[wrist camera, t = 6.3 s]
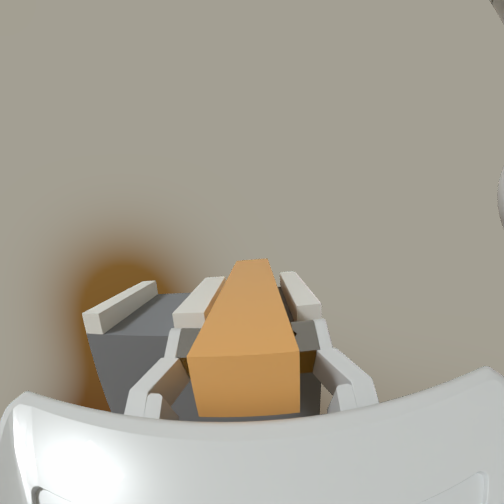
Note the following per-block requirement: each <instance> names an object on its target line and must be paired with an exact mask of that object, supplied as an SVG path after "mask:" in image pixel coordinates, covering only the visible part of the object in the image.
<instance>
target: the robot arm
mask: <svg viewBox="0 0 504 504" xmlns="http://www.w3.org/2000/svg"><path fill="white" fill-rule="evenodd" d="M489 1H490V2H491V4H492V5H493V7H494V8H495V10H496V12H497V13H498V15H499V17H500V18H501V20H502V22H503V23H504V0H489ZM497 196H498V209H499V215H500V219H501V223H502V226H503V228H504V167H503V169H502V172H501V175H500V179H499V184H498V194H497ZM290 325H291V328H292V331H293V333H294V336H295V339H296V342H297V345H298V348H299V353H300V374H301V373H312V372H313V374H314V375H315V376H316V378H317V379H318V380H319V381H320V382H321V383H322V384H323V385H324V387H325V388H326V389H327V390H328V391H329V392H330V393H331V394H332V395H333V398H332V400H331V402H330V405H329V407H328V409H327V412H328V414H321V415H314V416H307V417H299V418H290V419H279V420H266V421H247V422H197V421H179V416H178V415H177V414H176V413H175V412H174V410H173V409H172V408H171V406H172V404H173V403H174V402H175V400H176V399H177V398H178V396H179V395H180V394H181V392H182V391H183V389H184V388H185V387H186V385H187V384H188V383H189V381H190V379H191V378H190V373H189V368H188V363H187V355H188V353H189V351H190V349H191V347H192V345H193V343H194V341H195V339H196V338H197V336H198V334H199V332H200V330H201V328H171V330H170V332H169V336H168V341H167V346H166V351H165V356H164V358H160V359H159V360H158V362H157V363H156V364H155V365H154V366H153V367H152V368H151V369H150V370H149V371H148V372H147V373H146V374H145V375H144V376H143V377H142V378H141V379H140V380H139V381H138V382H137V383H136V384H135V385H134V386H133V387H132V388H131V389H130V390H129V395H128V399H127V403H126V408H125V412H124V414H118V413H112V412H107V411H102V410H97V409H92V408H87V407H83V406H79V405H75V404H71V403H67V402H63V401H60V400H56V399H53V398H49V397H46V396H43V395H39V394H37V393H33V392H30V391H26V392H24V393H22V394H21V395H20V396H18V397H17V398H16V399H15V400H14V401H12V402H11V403H10V404H9V405H8V406H7V408H6V410H5V411H4V413H3V416H2V418H1V421H0V504H504V376H503V375H501V374H500V373H498V372H497V371H495V370H494V369H492V368H490V367H488V366H483V367H481V368H478V369H476V370H474V371H472V372H469V373H467V374H465V375H462V376H460V377H457V378H455V379H452V380H450V381H448V382H445V383H442V384H439V385H437V386H434V387H431V388H428V389H425V390H422V391H419V392H416V393H413V394H410V395H406V396H403V397H400V398H396V399H392V400H389V401H385V402H381V403H379V401H378V397H377V393H376V390H375V387H374V383H373V380H372V378H371V377H370V376H369V375H368V374H366V373H365V372H364V371H363V370H362V369H361V368H359V367H358V366H357V365H356V364H355V363H354V362H352V361H351V360H350V359H349V358H348V357H347V356H345V355H344V354H343V353H342V352H341V351H340V350H338V349H337V348H333V346H332V342H331V338H330V334H329V331H328V327H327V323H326V320H325V319H316V320H306V321H297V322H291V323H290Z"/></svg>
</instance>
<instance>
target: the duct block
mask: <svg viewBox="0 0 504 504" xmlns="http://www.w3.org/2000/svg"><path fill="white" fill-rule="evenodd" d="M225 282H226V280H225V277H209V278H205V279H204V280H203V281H202V282H201V283H200V284H199V285H198V287H197V288H196V289H195V290H194V291H193V292H192V293H177V294H158V292H157V285H156V281H143V282H141V283H139V284H137V285H135V286H133V287H131V288H129V289H127V290H126V291H124V292H122V293H120V294H118V295H116V296H114V297H112V298H110V299H109V300H106V301H105V302H103V303H101V304H99V305H97V306H95V307H93V308H91V309H90V310H88V311H86V312H84V313H83V314H82V315H83V319H84V324H85V328H86V333H87V337H88V340H89V344H90V348H91V352H92V356H93V359H94V362H95V366H96V369H97V372H98V375H99V378H100V382H101V384H102V387H103V390H104V393H105V396H106V398H107V402H108V404H109V407H110V409H111V412H112V413H118V414H124V412H125V408H126V403H127V399H128V395H129V390H130V389H131V388H132V387H133V386H134V385H135V384H136V383H137V382H138V381H139V380H140V379H141V378H142V377H143V376H144V375H145V374H146V373H147V372H148V371H149V370H150V369H151V368H152V367H153V366H154V365H155V364H156V363H157V362H158V360H159V359H160V358H164V356H165V351H166V346H167V341H168V336H169V332H170V330H171V328H202V326H203V324H204V322H205V320H206V318H207V316H208V315H209V313H210V311H211V309H212V307H213V305H214V303H215V301H216V299H217V297H218V296H219V294H220V292H221V290H222V288H223V286H224V284H225ZM280 285H281V287H278V290H279V293H280V296H281V299H282V302H283V304H284V307H285V310H286V313H287V316H288V319H289V322H290V323H291V322H297V321H306V320H316V319H322V307H321V302H320V301H319V300H318V299H317V298H316V296H315V295H314V294H313V293H312V292H311V290H310V289H309V288H308V287H307V285H306V284H305V283H304V282H303V281H302V280H301V278H300V277H299V276H298V275H297V274H296V272H295V271H289V272H280ZM320 392H321V382H320V381H319V380H318V379H317V378H316V376H315V375H314V374H313V372H312V373H301V374H300V413H291V414H280V415H268V416H251V417H199V415H198V411H197V406H196V402H195V397H194V393H193V388H192V383H191V379H190V381H189V383H188V384H187V385H186V387H185V388H184V389H183V391H182V392H181V394H180V395H179V396H178V398H177V399H176V400H175V402H174V403H173V404H172V406H171V408H172V409H173V410H174V412H175V413H176V414H177V415H178V416H179V421H197V422H247V421H266V420H279V419H290V418H299V417H307V416H314V415H319V414H320V394H321V393H320Z"/></svg>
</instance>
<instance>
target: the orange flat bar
mask: <svg viewBox="0 0 504 504" xmlns="http://www.w3.org/2000/svg"><path fill="white" fill-rule="evenodd" d="M187 363H188V368H189V373H190V378H191V383H192V388H193V393H194V397H195V402H196V406H197V411H198V415H199V417H251V416H268V415H280V414H291V413H300V353H299V348H298V345H297V342H296V339H295V336H294V333H293V331H292V328H291V325H290V322H289V319H288V316H287V313H286V310H285V307H284V304H283V302H282V299H281V296H280V293H279V290H278V287H277V285H276V282H275V279H274V276H273V273H272V270H271V267H270V264H269V262H268V259H255V260H242V261H237V262H236V263H235V265H234V267H233V269H232V271H231V273H230V275H229V277H228V279H227V280H226V282H225V284H224V286H223V288H222V290H221V292H220V294H219V296H218V297H217V299H216V301H215V303H214V305H213V307H212V309H211V311H210V313H209V315H208V316H207V318H206V320H205V322H204V324H203V326H202V328H201V330H200V332H199V334H198V336H197V338H196V339H195V341H194V343H193V345H192V347H191V349H190V351H189V353H188V355H187Z"/></svg>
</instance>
